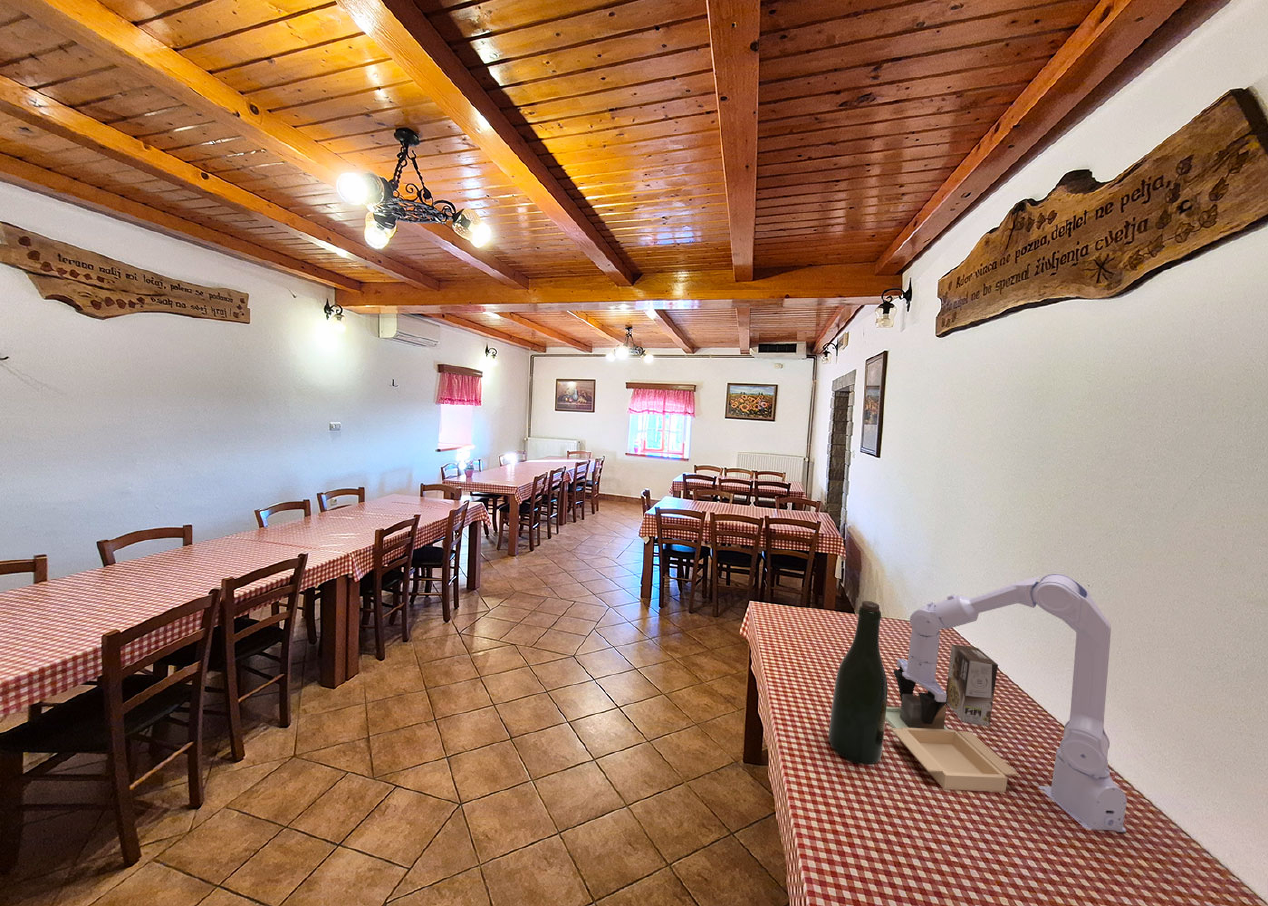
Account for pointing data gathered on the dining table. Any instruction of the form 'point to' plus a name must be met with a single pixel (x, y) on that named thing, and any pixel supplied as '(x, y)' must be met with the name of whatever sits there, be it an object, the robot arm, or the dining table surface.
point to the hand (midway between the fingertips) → (915, 712)
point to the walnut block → (919, 713)
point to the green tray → (896, 718)
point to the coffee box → (971, 684)
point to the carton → (956, 759)
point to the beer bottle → (861, 694)
